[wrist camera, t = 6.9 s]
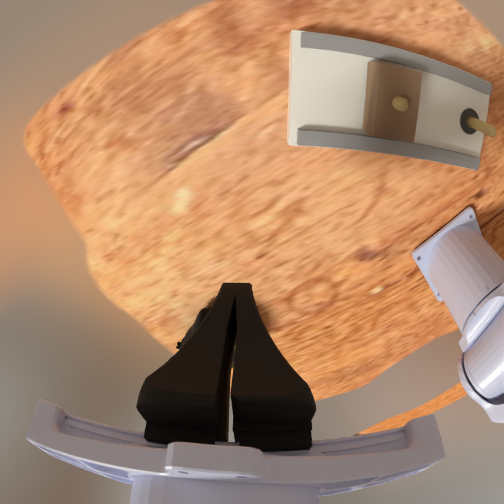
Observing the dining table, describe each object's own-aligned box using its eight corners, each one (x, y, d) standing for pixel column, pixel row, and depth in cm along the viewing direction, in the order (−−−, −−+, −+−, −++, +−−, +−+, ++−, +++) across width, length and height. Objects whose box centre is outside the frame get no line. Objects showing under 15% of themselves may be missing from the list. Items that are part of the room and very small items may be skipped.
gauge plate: (480, 80, 15) (514, 89, 11) (466, 164, 20) (496, 184, 16) (290, 33, 15) (299, 22, 12) (286, 140, 20) (294, 157, 16)
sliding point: (407, 71, 14) (426, 73, 12) (400, 135, 17) (417, 145, 15) (367, 61, 14) (382, 61, 12) (362, 129, 17) (375, 138, 15)
